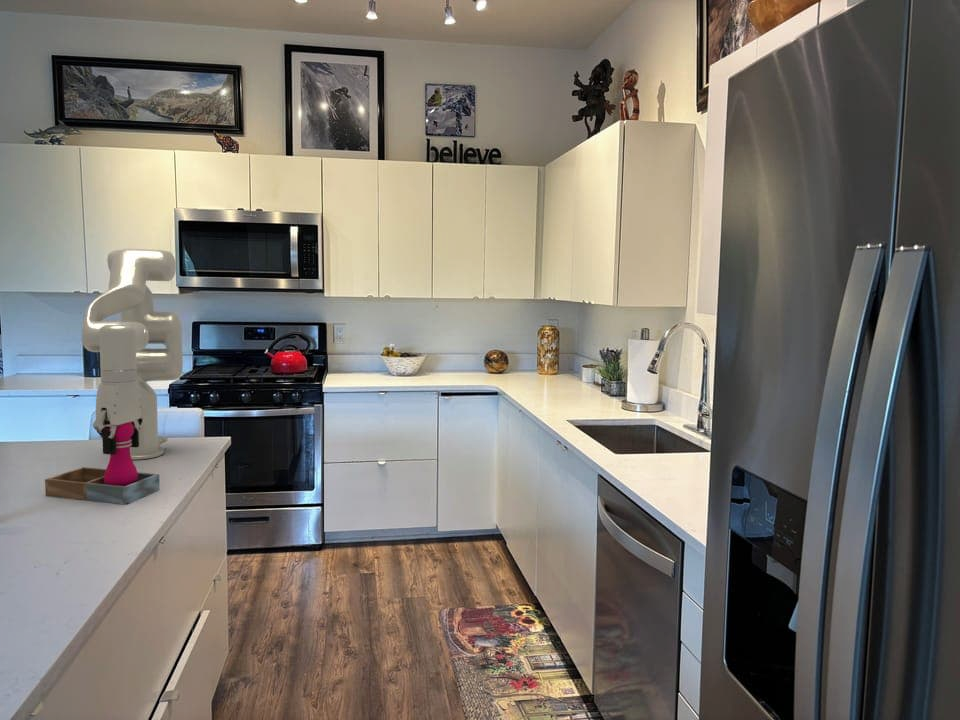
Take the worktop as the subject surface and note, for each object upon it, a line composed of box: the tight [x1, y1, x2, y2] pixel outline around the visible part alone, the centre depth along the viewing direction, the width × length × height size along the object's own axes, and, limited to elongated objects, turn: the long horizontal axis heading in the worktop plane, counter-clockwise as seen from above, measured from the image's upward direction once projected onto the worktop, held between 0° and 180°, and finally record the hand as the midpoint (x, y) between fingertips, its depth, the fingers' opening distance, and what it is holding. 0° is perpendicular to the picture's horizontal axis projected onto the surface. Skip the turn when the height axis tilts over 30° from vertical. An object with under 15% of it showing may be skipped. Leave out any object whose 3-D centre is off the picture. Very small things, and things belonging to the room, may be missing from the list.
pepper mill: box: [104, 422, 138, 486], centre depth 159 cm, size 7×7×20 cm
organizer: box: [44, 466, 160, 505], centre depth 161 cm, size 11×22×4 cm, turn 78°
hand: (121, 449), depth 159 cm, fingers open, 6 cm apart
